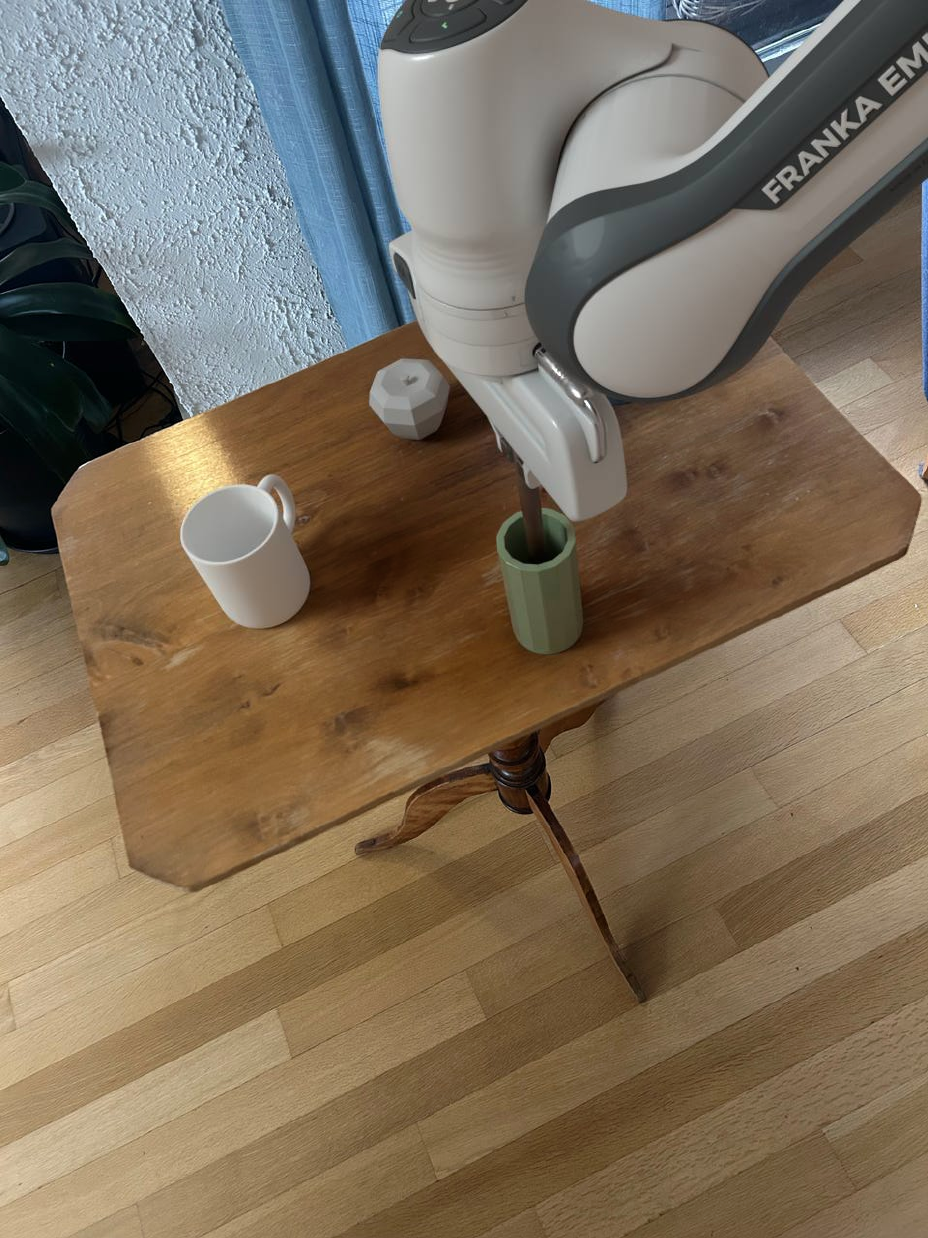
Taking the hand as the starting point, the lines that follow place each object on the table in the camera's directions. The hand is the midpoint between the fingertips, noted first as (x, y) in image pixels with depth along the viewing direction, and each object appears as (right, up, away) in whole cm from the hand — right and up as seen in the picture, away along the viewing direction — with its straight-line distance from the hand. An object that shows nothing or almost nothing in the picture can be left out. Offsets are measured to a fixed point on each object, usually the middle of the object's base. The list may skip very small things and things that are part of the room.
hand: (525, 465), depth 66 cm
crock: (+3, -11, +17) cm, 20 cm away
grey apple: (-9, +9, +32) cm, 34 cm away
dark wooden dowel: (+3, -10, +16) cm, 20 cm away
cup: (-21, -7, +24) cm, 33 cm away
